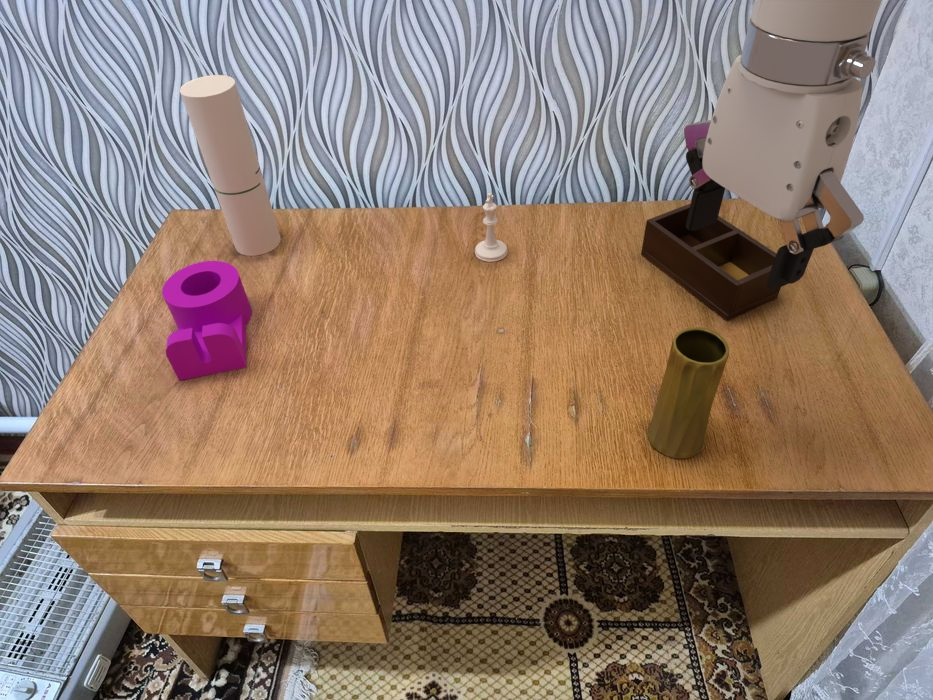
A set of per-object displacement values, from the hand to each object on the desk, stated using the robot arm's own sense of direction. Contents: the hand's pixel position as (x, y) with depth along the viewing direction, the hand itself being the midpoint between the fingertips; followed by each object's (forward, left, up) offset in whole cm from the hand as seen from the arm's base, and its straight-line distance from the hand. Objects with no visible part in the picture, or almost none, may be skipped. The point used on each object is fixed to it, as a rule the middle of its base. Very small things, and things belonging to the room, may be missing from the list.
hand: (739, 253), depth 57 cm
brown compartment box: (+20, -21, -24) cm, 37 cm away
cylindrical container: (+63, +32, -24) cm, 74 cm away
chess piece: (+41, +2, -24) cm, 47 cm away
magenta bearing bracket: (+45, +43, -24) cm, 67 cm away
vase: (0, +2, -24) cm, 24 cm away
